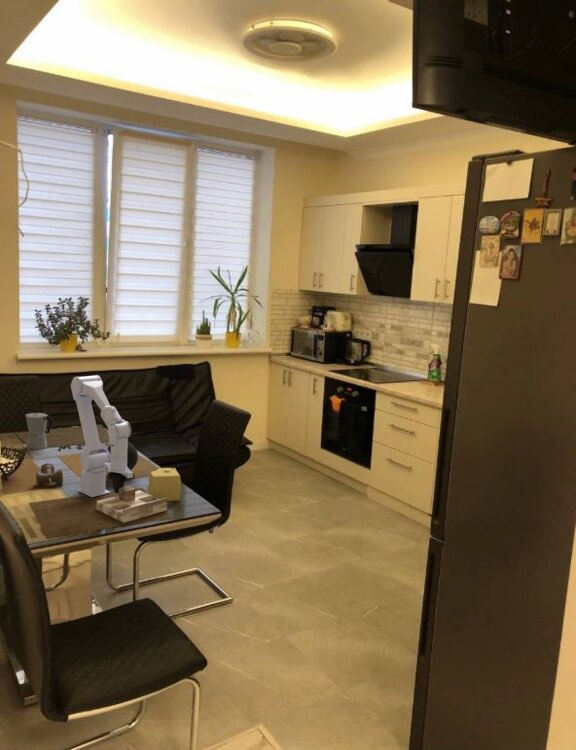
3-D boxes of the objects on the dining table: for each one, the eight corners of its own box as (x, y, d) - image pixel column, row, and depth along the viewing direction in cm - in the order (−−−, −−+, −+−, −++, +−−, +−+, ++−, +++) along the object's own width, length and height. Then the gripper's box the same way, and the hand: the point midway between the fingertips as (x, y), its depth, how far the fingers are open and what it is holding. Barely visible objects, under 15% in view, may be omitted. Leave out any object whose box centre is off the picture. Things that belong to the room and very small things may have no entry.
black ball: (96, 478, 251) (97, 441, 249) (118, 470, 263) (119, 435, 261) (123, 484, 246) (123, 447, 244) (144, 475, 258) (145, 440, 256)
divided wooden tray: (96, 509, 218) (96, 497, 218) (139, 498, 232) (139, 486, 231) (123, 522, 208) (123, 509, 207) (166, 510, 222) (167, 498, 221)
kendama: (60, 474, 255) (64, 489, 237) (34, 477, 251) (36, 492, 233) (59, 460, 254) (64, 473, 236) (34, 462, 250) (36, 476, 232)
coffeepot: (18, 447, 288) (18, 408, 285) (32, 442, 296) (32, 405, 294) (45, 452, 283) (45, 413, 280) (59, 447, 291) (59, 409, 289)
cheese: (147, 493, 238) (148, 468, 236) (175, 491, 241) (176, 466, 240) (151, 503, 228) (152, 476, 226) (180, 501, 232) (181, 475, 230)
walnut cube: (118, 499, 221) (119, 488, 221) (128, 496, 224) (128, 485, 224) (125, 502, 219) (125, 491, 218) (135, 499, 222) (135, 488, 221)
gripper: (97, 453, 225) (96, 489, 227) (121, 462, 215) (120, 500, 217) (114, 450, 230) (113, 485, 232) (138, 458, 221) (137, 495, 223)
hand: (118, 492), depth 225 cm, fingers closed
